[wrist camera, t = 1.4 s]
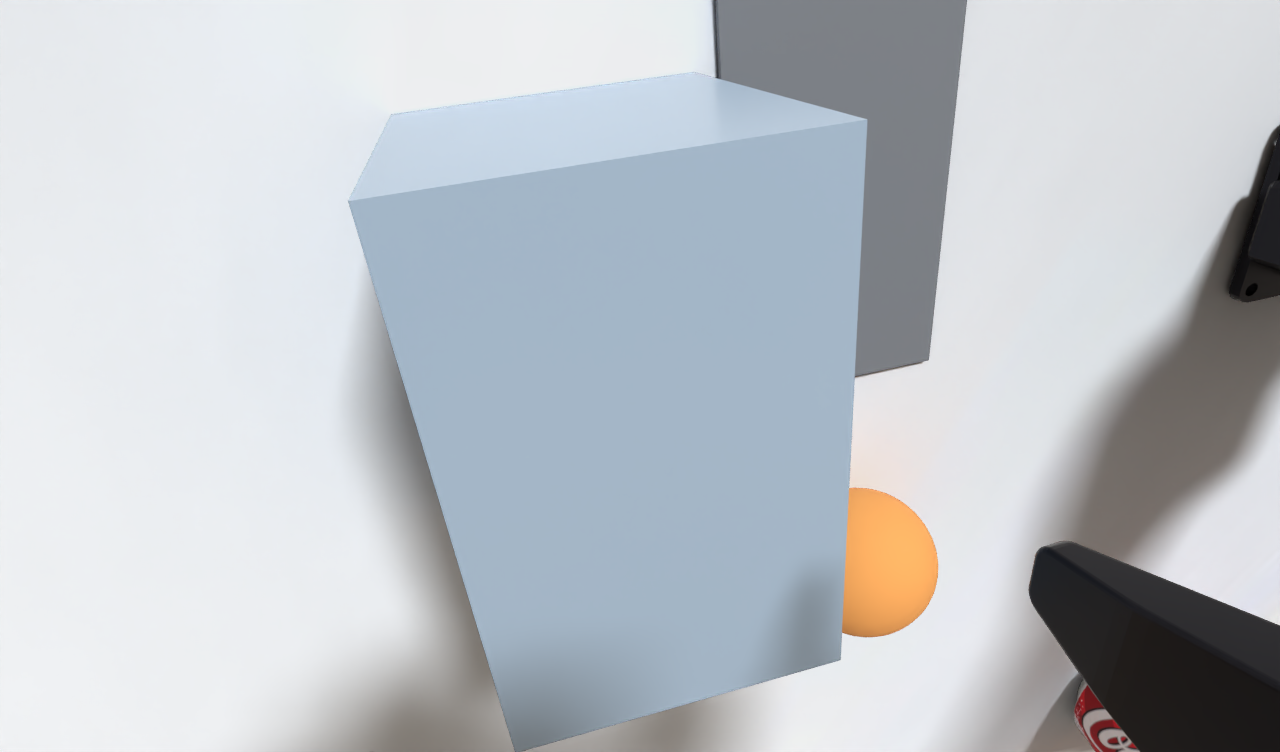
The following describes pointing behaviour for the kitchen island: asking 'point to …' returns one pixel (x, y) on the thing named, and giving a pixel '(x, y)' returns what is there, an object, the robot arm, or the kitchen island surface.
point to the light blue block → (629, 380)
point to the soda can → (1099, 724)
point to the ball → (885, 565)
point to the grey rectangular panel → (870, 134)
